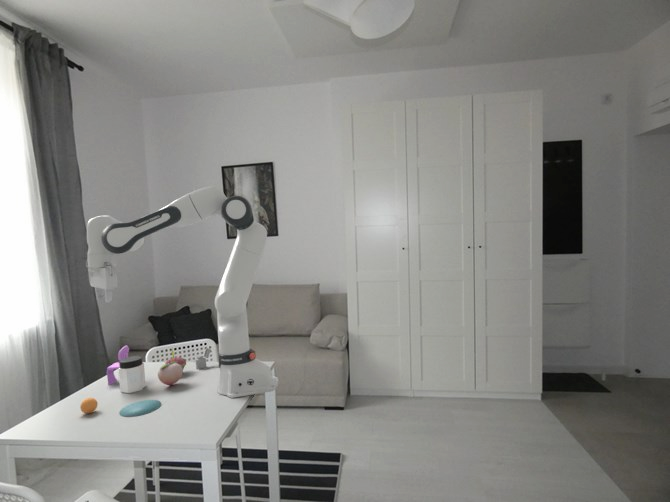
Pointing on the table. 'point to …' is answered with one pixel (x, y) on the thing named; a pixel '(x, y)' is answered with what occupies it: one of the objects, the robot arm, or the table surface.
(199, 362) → the lighter
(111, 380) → the toy chair
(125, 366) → the jar
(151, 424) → the table surface
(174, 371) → the decorative fruit
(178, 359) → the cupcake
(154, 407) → the disc
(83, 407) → the ball
